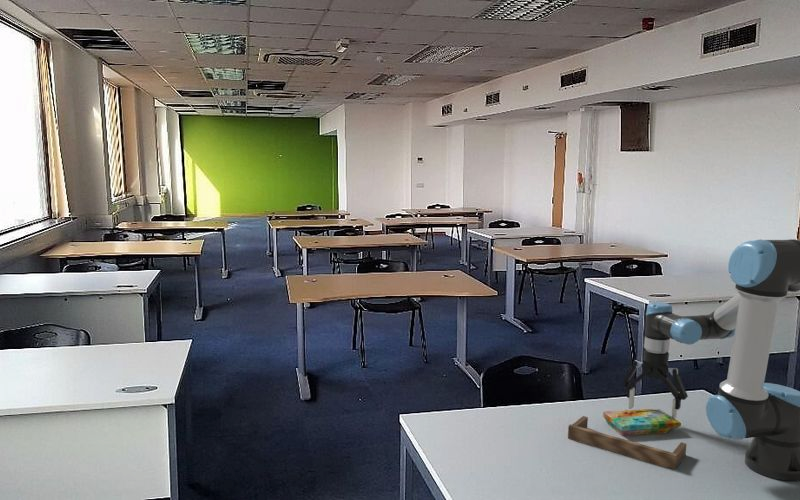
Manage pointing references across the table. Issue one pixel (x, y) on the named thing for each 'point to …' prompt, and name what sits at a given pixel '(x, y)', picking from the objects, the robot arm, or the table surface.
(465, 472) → the table surface
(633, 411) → the puzzle game
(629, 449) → the frame
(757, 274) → the robot arm
